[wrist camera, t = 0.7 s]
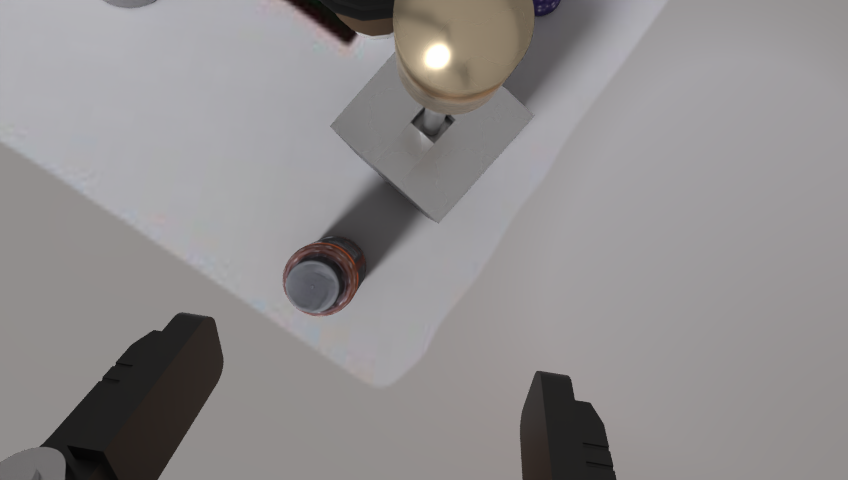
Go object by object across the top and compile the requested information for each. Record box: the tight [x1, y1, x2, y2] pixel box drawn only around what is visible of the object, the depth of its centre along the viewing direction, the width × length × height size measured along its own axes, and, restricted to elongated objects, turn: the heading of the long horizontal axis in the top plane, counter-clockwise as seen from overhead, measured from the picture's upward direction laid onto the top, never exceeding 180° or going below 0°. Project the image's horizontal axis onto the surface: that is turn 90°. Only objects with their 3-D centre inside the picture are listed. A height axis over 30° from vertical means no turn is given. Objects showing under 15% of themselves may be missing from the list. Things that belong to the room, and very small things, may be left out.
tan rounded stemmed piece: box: [393, 0, 534, 144], centre depth 22 cm, size 7×7×18 cm
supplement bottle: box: [283, 236, 366, 316], centre depth 39 cm, size 6×6×11 cm
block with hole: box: [330, 52, 534, 223], centre depth 36 cm, size 9×9×16 cm
